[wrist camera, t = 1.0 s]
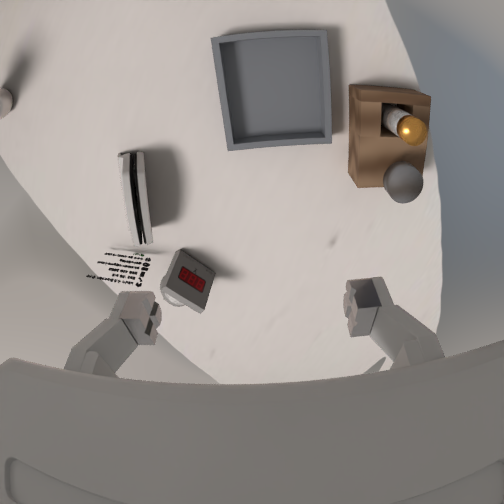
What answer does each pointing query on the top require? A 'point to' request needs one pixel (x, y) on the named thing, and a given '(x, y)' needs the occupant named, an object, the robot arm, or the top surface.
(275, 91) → the tray
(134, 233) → the black-striped white block
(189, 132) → the top surface
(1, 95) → the plastic bottle
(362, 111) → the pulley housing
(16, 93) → the top surface
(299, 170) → the top surface
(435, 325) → the top surface
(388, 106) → the gold-capped glass vial
